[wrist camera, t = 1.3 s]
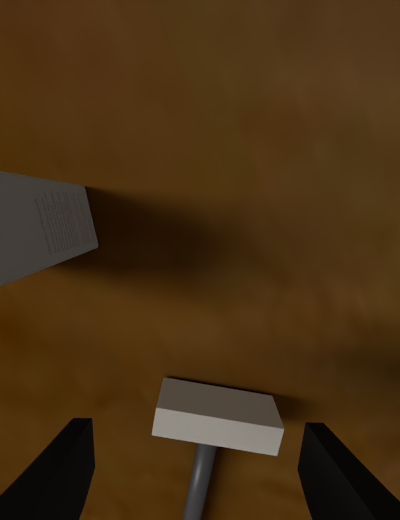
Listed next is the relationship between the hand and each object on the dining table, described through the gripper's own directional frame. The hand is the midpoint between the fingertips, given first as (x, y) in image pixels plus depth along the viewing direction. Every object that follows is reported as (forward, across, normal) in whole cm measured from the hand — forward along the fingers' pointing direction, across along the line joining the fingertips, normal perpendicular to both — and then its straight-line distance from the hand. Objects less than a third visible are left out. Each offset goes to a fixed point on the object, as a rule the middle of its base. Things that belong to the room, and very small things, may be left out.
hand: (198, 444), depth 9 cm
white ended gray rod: (+9, 0, +17) cm, 19 cm away
